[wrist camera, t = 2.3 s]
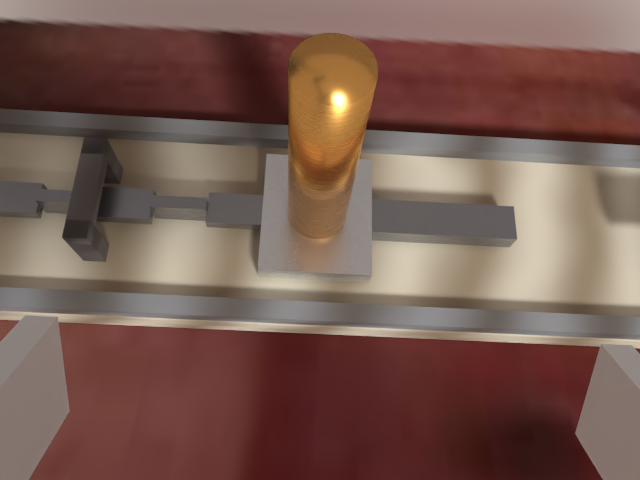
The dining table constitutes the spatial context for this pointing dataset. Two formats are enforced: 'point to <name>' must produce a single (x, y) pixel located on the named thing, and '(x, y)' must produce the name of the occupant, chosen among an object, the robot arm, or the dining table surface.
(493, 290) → the rail
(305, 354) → the dining table surface
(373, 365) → the dining table surface
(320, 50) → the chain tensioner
